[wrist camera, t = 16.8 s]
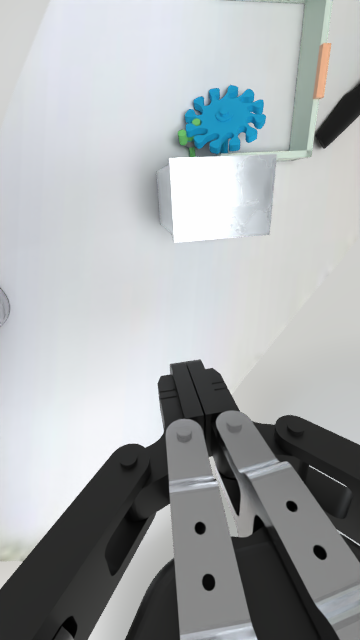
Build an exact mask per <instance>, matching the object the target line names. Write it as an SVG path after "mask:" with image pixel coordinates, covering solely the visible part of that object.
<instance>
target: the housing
mask: <svg viewBox="0 0 360 640" xmlns="http://www.w3.org/2000/svg"><path fill="white" fill-rule="evenodd" d="M276 156H277V154H266V155H240V156H215V157H189V158H169V159H168V162H169V165H167V166H165V167H164V168H162V169H160V170H159V171H157V172H156V174H157V187H158V200H159V213H160V224H161V225H162V226H163V227H164V228H165V229H166V230H167V231H168V232H170V233H171V234H172V235H173V242H174V243H175V242H187V241H199V240H211V239H223V238H235V237H247V236H259V235H269V234H270V223H271V212H272V201H273V190H274V178H275V167H276Z"/></svg>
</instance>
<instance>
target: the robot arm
mask: <svg viewBox="0 0 360 640" xmlns="http://www.w3.org/2000/svg"><path fill="white" fill-rule="evenodd" d="M8 314H9V302H8V299H7V297H6V295H5V294H4V292H3V291H2V290H1V289H0V326H1V325H2V324H3V323H4V322H5V321H6V319H7V318H8ZM158 392H159V401H160V410H161V416H162V422H163V428H164V433H163V435H162V436H161V438H160V439H159V440H158V441H157V442H155V443H154V444H152V445H150V446H148V447H146V448H144V447H143V446H141V445H139V444H127V445H124V446H122V447H120V448H118V449H117V450H116V451H115V452H114V453H113V454H112V455H111V456H110V458H109V459H108V460H107V461H106V462H105V464H104V465H103V466H102V467H101V468H100V470H99V471H98V472H97V473H96V474H95V476H94V477H93V478H92V479H91V480H90V482H89V483H88V484H87V485H86V486H85V488H84V489H83V490H82V491H81V493H80V494H79V495H78V496H77V497H76V499H75V500H74V501H73V502H72V503H71V505H70V506H69V507H68V508H67V509H66V511H65V512H64V513H63V514H62V515H61V517H60V518H59V519H58V520H57V521H56V523H55V524H54V525H53V526H52V528H51V529H50V530H49V531H48V532H47V534H46V535H45V536H44V537H43V538H42V540H41V541H40V542H39V543H38V544H37V546H36V547H35V548H34V549H33V550H32V552H31V553H30V554H29V555H28V556H27V558H26V559H25V560H24V561H23V563H22V564H21V565H20V566H19V567H18V569H17V570H16V571H15V572H14V573H13V575H12V576H11V577H10V578H9V579H8V581H7V582H6V583H5V584H4V585H3V587H2V588H1V589H0V640H88V638H89V636H90V634H91V632H92V631H93V629H94V627H95V625H96V623H97V621H98V619H99V618H100V616H101V614H102V612H103V611H104V609H105V607H106V605H107V603H108V601H109V600H110V598H111V596H112V594H113V592H114V590H115V588H116V587H117V585H118V583H119V581H120V580H121V578H122V576H123V574H124V572H125V570H126V568H127V567H128V565H129V563H130V561H131V559H132V558H133V556H134V554H135V552H136V550H137V548H138V547H139V545H140V543H141V541H142V539H143V537H144V536H145V534H146V532H147V530H148V529H149V527H150V525H151V523H152V521H153V519H154V517H155V515H156V512H157V511H159V510H160V509H162V508H164V507H165V506H167V505H168V504H170V506H171V519H172V534H173V547H174V558H173V559H172V560H171V561H170V562H168V563H167V564H166V565H165V566H164V567H163V568H162V569H161V570H160V571H159V573H158V574H157V575H156V576H155V578H154V579H153V581H152V582H151V584H150V586H149V587H148V589H147V591H146V593H145V596H144V597H143V600H142V602H141V604H140V606H139V609H138V611H137V613H136V616H135V618H134V620H133V622H132V625H131V627H130V629H129V632H128V635H127V636H126V639H125V640H360V546H359V545H357V544H356V543H354V542H353V541H351V540H350V539H348V538H347V537H345V536H343V535H342V534H339V532H338V531H337V530H339V531H340V532H342V533H343V534H345V535H346V536H348V537H349V538H351V539H353V540H354V541H356V542H357V543H359V544H360V445H359V444H356V443H354V442H352V441H350V440H348V439H346V438H343V437H341V436H339V435H337V434H335V433H333V432H331V431H329V430H326V429H324V428H322V427H320V426H318V425H315V424H313V423H311V422H309V421H307V420H305V419H303V418H300V417H297V416H293V415H286V416H282V417H280V418H279V419H278V420H277V421H276V424H275V425H271V424H261V423H255V422H253V421H251V419H250V418H249V417H248V416H247V415H245V414H244V413H242V412H240V411H239V409H238V407H237V405H236V403H235V401H234V399H233V397H232V395H231V394H230V392H229V390H228V389H227V386H226V384H225V383H224V380H223V378H222V376H221V374H220V373H218V372H217V371H216V370H214V369H213V368H210V369H205V368H204V366H203V363H202V361H201V360H194V361H187V362H180V363H174V364H170V375H165V376H161V377H160V379H159V382H158ZM211 456H213V458H214V461H215V472H216V476H217V479H218V481H219V483H220V486H221V488H222V491H223V493H224V496H225V498H226V500H227V503H228V505H229V508H230V510H231V513H232V515H233V518H234V520H235V523H236V526H237V531H238V537H231V536H230V532H229V528H228V524H227V520H226V515H225V511H224V507H223V503H222V499H221V495H220V490H219V486H218V483H217V480H216V479H214V477H213V474H212V469H211V465H210V461H209V457H211ZM309 465H310V466H312V467H314V468H316V469H318V470H319V471H321V472H323V473H325V474H326V475H328V476H330V477H332V478H334V479H335V480H337V481H339V482H341V483H342V484H344V485H346V486H347V487H345V486H343V485H341V484H340V483H338V482H336V481H334V480H332V479H331V478H329V477H327V476H325V475H324V474H322V473H320V472H318V471H317V470H315V469H313V468H311V467H309Z"/></svg>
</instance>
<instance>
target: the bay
mask: <svg viewBox="0 0 360 640" xmlns="http://www.w3.org/2000/svg"><path fill="white" fill-rule="evenodd" d="M235 1H256V2H278V3H299V4H305V8H304V17H303V26H302V36H301V45H300V54H299V64H298V73H297V83H296V92H295V101H294V111H293V120H292V129H291V139H290V148H289V151H275V152H248V153H221V154H218V155H216V156H240V155H266V154H277V156H276V161H288V160H297V159H303V158H308V157H311V155H312V148H313V141H314V134H315V126H316V119H317V112H318V105H319V99H321V98H323V97H324V91H325V84H326V77H327V70H328V63H329V56H330V49H331V43H327V39H328V32H329V25H330V18H331V10H332V3H333V0H235ZM213 157H215V156H213Z"/></svg>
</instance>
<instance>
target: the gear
mask: <svg viewBox="0 0 360 640" xmlns="http://www.w3.org/2000/svg"><path fill="white" fill-rule="evenodd" d="M209 94H210V100H211V103H210V105H208V106H204V98H203V97H202V96H201V97H198V98H196V99H195V100H194V108H195V109H196V110H198V111H200V112H201V113H202V114H201V115H196V114H195V112H194V110H192V109H189V110H188V111H187V112H186V114H185V120H186V122H187V123H188V124H186V131H185V130H180V131H179V132H178V137H179V143H180V145H186V147H188V148H189V151H190V157H196V156H195V148H194V147H195V146H196V147H197V148H198V149H201V148H202V147H203V146H204V145H205V144H206V143H208V142H211V141H212V142H211V143H210V145H209V146H210V152H212V153H215V154H218V153H219V152H220V151H221V153H228V139H229V138H231V140H230V141H229V151H238V150H239V149H240V140H239V138H238V134H239V133H241V132H244V133H246V142H248V143H250V142H252V141H254V140H255V139H257V130H256V129H254V128H252V127H250V126H249V125H248V123H250V122H251V123H253V124H254V126H255V127H256V128H257V129H261V128H262V127H263V125H264V124H265V119H266V116H265V115H264V114H262V112H263V106H264V102H263V100H257V101H255V102H253V101H254V92H253V91H252V90H251V89H248V90H246V91H245V92H244V93H243V94H242V95H241V96H239V97H237V96H238V87H236V86H232V85H230V86H229V87H228V91H227V94H226V95H225V96H224V97H223V98H222V99H220V100H219V98H220V90H219V88H215V89H210V91H209ZM251 112H253V113H255V114H253V113H251Z"/></svg>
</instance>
